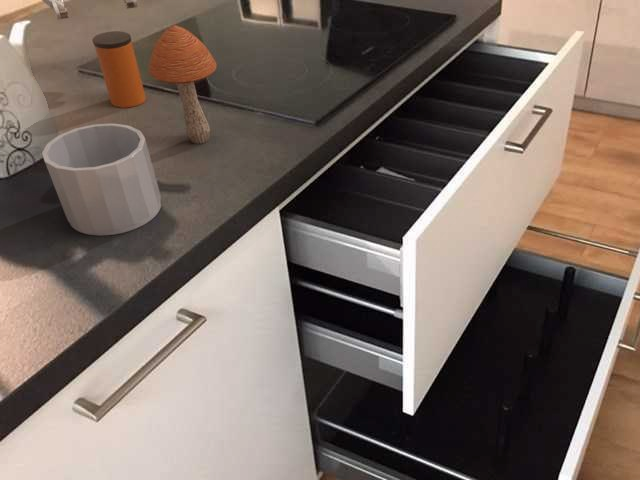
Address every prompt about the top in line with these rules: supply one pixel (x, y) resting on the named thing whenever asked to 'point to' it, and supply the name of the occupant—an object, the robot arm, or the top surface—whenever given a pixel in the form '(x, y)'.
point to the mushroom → (184, 74)
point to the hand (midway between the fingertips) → (98, 11)
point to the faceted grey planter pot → (103, 178)
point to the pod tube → (119, 68)
